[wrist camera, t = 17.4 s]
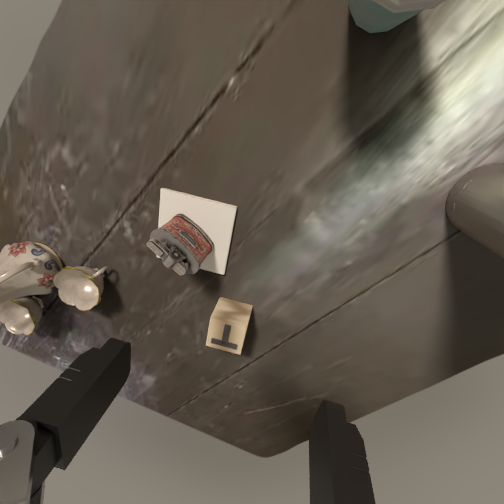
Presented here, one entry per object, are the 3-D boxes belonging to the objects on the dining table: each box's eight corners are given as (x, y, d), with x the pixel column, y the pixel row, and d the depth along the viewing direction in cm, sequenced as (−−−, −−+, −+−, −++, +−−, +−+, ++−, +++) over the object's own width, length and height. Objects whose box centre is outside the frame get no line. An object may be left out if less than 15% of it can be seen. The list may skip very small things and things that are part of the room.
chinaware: (46, 324, 63) (-25, 392, 49) (-20, 268, 57) (-123, 328, 43) (133, 274, 53) (76, 340, 39) (65, 201, 47) (-32, 248, 33)
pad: (237, 206, 43) (236, 207, 42) (224, 273, 48) (223, 274, 48) (162, 187, 44) (160, 188, 43) (158, 255, 49) (156, 257, 48)
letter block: (252, 305, 50) (246, 328, 44) (246, 331, 53) (239, 356, 47) (220, 296, 50) (210, 318, 45) (215, 323, 53) (205, 347, 47)
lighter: (218, 244, 45) (197, 273, 36) (205, 257, 47) (182, 288, 38) (181, 208, 44) (149, 230, 35) (168, 222, 45) (135, 247, 36)
